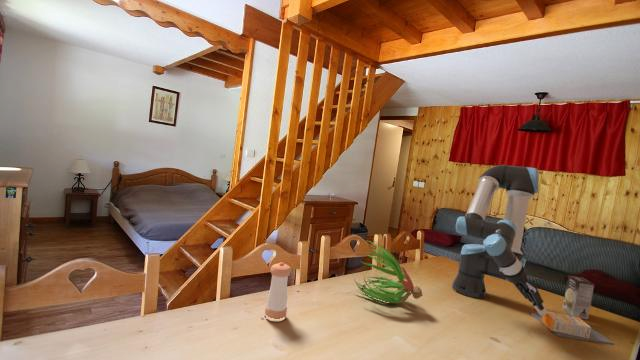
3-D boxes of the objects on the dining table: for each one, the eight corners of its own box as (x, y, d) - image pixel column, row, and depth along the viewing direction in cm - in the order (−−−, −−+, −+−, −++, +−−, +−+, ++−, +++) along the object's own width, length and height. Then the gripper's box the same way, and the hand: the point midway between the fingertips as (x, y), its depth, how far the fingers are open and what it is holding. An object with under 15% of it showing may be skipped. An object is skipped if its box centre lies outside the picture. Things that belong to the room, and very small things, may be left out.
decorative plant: (415, 335, 121) (339, 310, 131) (420, 298, 144) (355, 279, 154) (427, 273, 114) (346, 252, 124) (431, 244, 137) (361, 229, 147)
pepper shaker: (289, 316, 113) (296, 262, 112) (278, 324, 106) (285, 267, 105) (272, 309, 116) (278, 257, 115) (260, 317, 109) (266, 262, 108)
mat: (558, 336, 123) (558, 334, 123) (530, 313, 141) (530, 312, 141) (613, 344, 122) (613, 342, 122) (578, 320, 140) (578, 319, 140)
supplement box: (543, 309, 133) (579, 316, 130) (541, 320, 133) (577, 328, 131) (552, 319, 125) (591, 327, 122) (550, 331, 125) (589, 339, 123)
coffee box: (561, 307, 152) (567, 274, 151) (576, 310, 151) (583, 277, 150) (572, 316, 144) (578, 281, 142) (589, 319, 142) (595, 284, 141)
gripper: (494, 269, 133) (524, 311, 136) (517, 282, 120) (550, 328, 123) (508, 258, 133) (538, 300, 137) (532, 269, 121) (565, 315, 124)
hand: (544, 313), depth 130 cm, fingers closed
